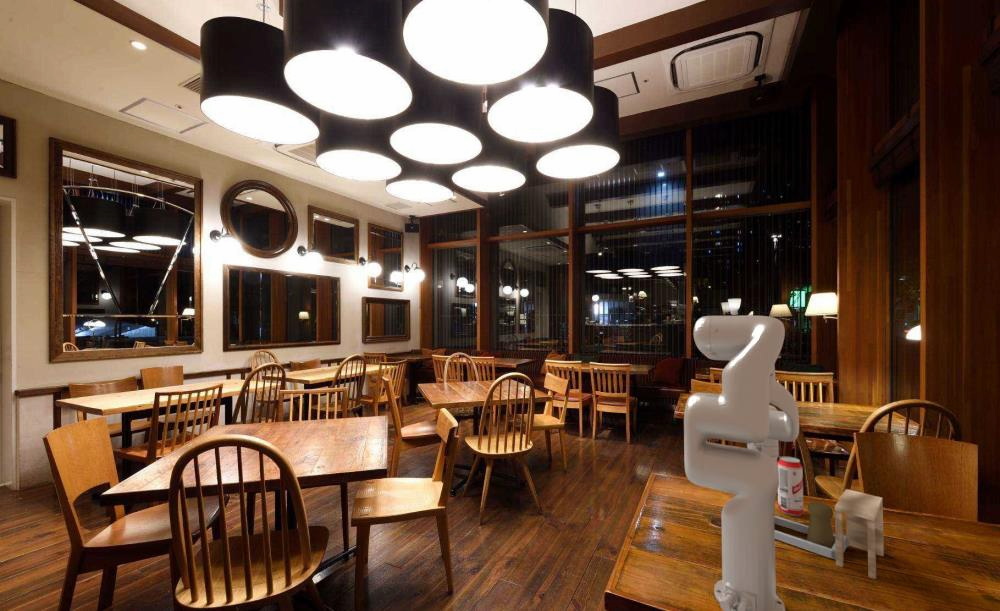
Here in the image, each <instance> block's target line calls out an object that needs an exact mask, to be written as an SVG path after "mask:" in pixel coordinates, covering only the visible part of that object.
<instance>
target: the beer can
mask: <svg viewBox="0 0 1000 611" xmlns="http://www.w3.org/2000/svg"><path fill="white" fill-rule="evenodd" d="M777 461H778V470H779V487H778V489H777V508H778V509H779V511H780V512H781V513H782V514H784V515H787V516H791V517H800V516H803V514H804V484H803V483H804V482H803V481H804V480H803V479H804V477H803V466H802V463H801V460H800V459H799V458H796V457H794V456H793V457H792V456H787V455H786V456H784V455H783V456H779V460H777Z"/></svg>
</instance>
